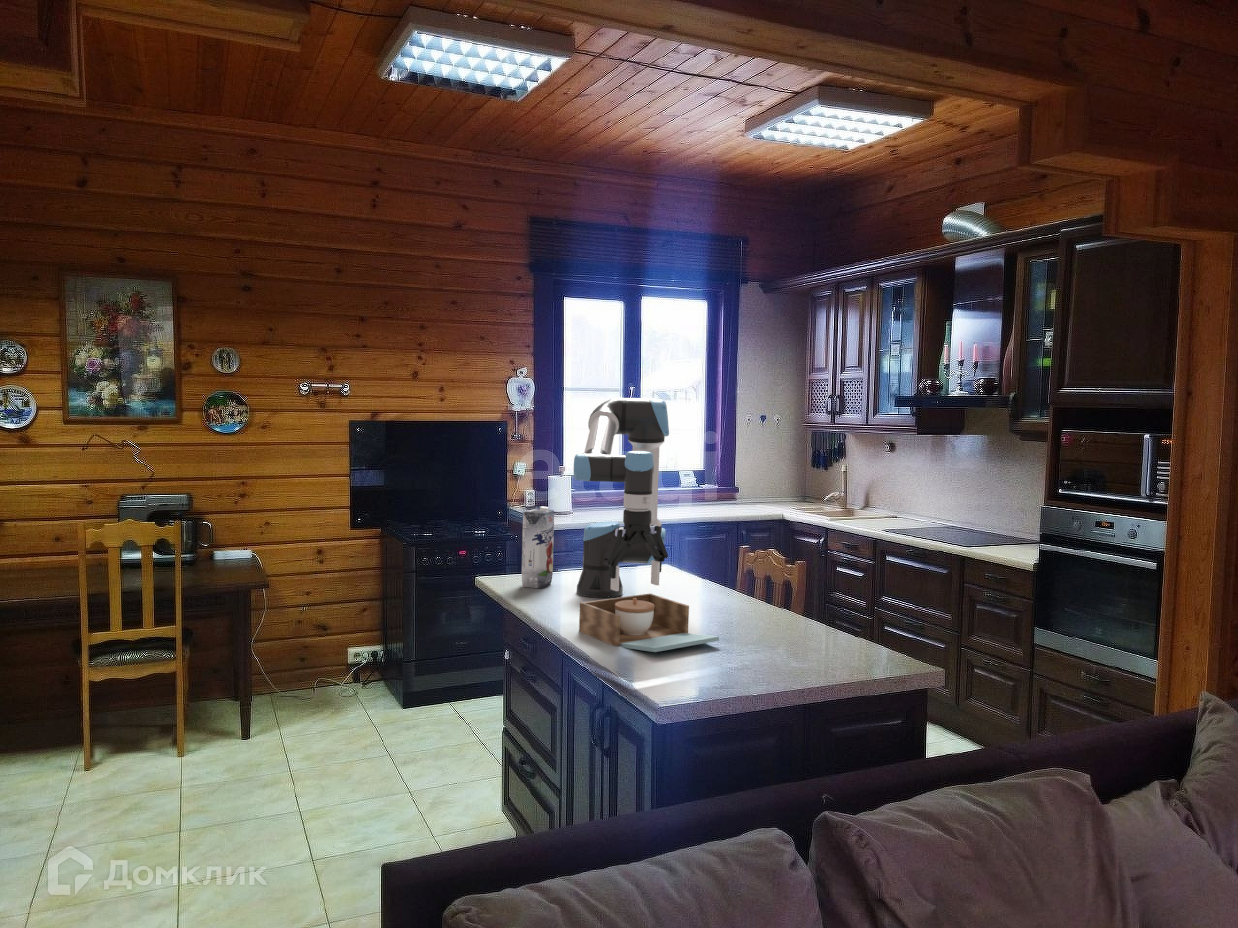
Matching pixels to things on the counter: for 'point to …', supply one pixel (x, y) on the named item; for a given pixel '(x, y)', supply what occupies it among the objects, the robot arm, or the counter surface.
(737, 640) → the counter surface
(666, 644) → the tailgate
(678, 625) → the open wooden tray
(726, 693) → the counter surface
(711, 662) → the counter surface
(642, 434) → the robot arm
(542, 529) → the juice carton
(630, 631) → the lidded jar
